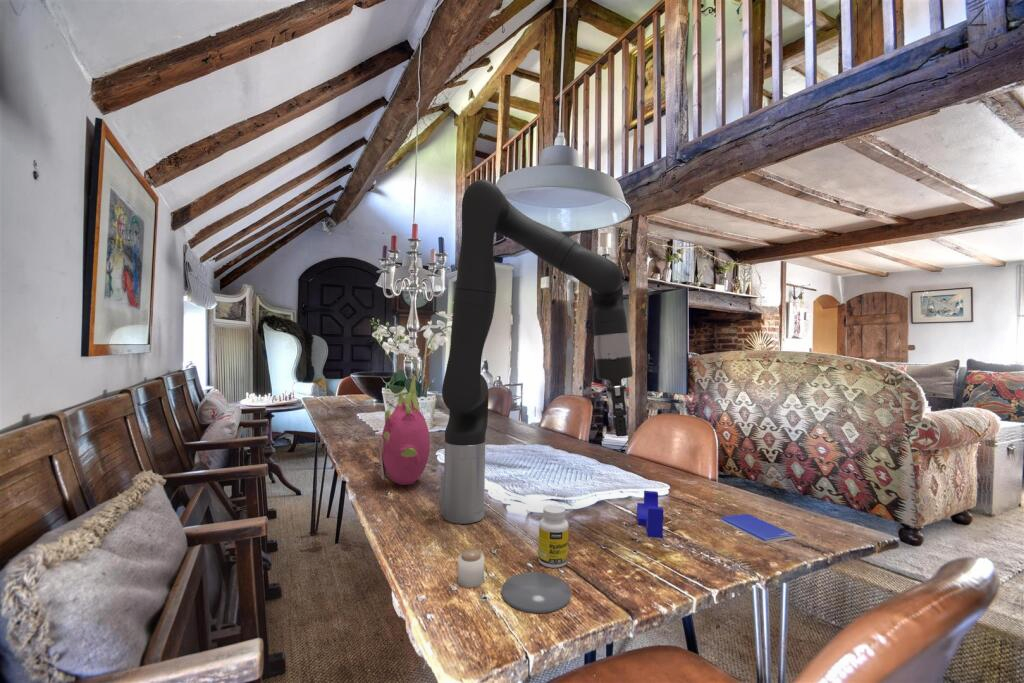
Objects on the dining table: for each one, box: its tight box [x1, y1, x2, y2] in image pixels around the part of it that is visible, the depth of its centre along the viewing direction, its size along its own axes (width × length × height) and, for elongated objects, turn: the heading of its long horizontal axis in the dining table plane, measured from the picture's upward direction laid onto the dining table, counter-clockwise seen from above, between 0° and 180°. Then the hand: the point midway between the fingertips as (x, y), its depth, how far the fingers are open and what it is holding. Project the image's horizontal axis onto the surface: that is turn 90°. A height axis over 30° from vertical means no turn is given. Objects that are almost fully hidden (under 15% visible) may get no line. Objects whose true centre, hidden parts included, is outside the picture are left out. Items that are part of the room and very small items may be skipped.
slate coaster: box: [501, 571, 572, 614], centre depth 75 cm, size 11×11×1 cm
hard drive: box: [720, 513, 797, 544], centre depth 102 cm, size 2×8×12 cm
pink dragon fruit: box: [379, 375, 431, 486], centre depth 129 cm, size 18×14×30 cm
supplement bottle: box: [537, 504, 570, 569], centre depth 86 cm, size 5×5×10 cm
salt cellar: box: [457, 547, 485, 589], centre depth 79 cm, size 4×4×5 cm
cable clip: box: [636, 490, 664, 539], centre depth 103 cm, size 12×4×6 cm, turn 168°
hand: (620, 432), depth 99 cm, fingers open, 8 cm apart
